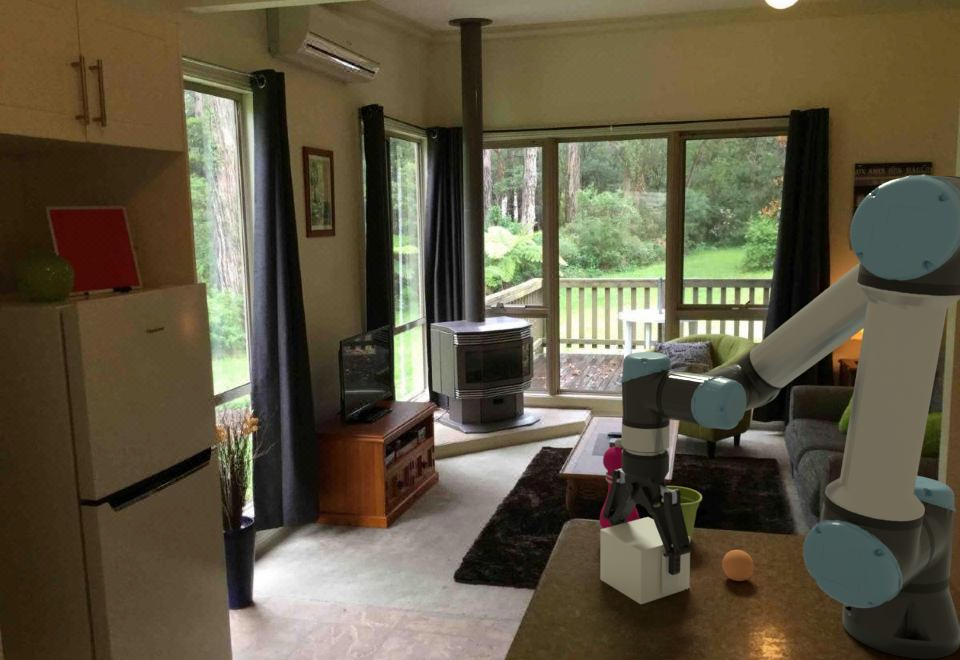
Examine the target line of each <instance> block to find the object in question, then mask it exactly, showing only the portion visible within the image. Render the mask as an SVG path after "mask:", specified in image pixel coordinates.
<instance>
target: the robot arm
mask: <svg viewBox="0 0 960 660" xmlns="http://www.w3.org/2000/svg"><path fill="white" fill-rule="evenodd" d="M849 229H850V231H849V238H850V245H851V248H852V251H853V253H854V255H855V256H856V258H857V260H858V261H859V263H857V264H856V265H855V266H854V267H852V268H851V269H849V271H847V272H846V273H845V274H844V275H842V276H841V277H840V278H839V279H837V280H836V281H834V283H832V284H831V285H829V287H828V288H826V289H824V291H823V292H821V293H820V294H819V295H818V296H816V297H815V298H813V300H812V301H810V302H809V303H808V304H806V305H805V306H804V307H803V308H801V309H800V310H799V311H798V312H796V313H795V314H794V315H793V316H792V317H790V318H789V319H788V320H786V321H785V322H784V323H783V324H781V325H780V326H779V327H778V328H777V329H775V330H773V332H771V334H769V335H768V336H766V337H765V338H764V339H763V340H761V342H759V343H758V344H757V345H755V346H754V347H753V348H752V349H750V350H749V352H746V354H744V355H742V357H740V358H739V359H738V360H737V361H735V362H734V363H733V364H731V365H727V366H723V367H720V368H717V369H714V370H710V371H707V372H703V373H694V372H688V371H687V372H685V371H679V370H675V369H672V364H671V363H672V361H671V357H670V356H669V355H667V354H664V353H661V352H654V351H653V352H652V351H642V352H641V351H639V352H638V351H637V352H633V353H629V354H628V355H627V354H626V356H625V357H624V358H623V362H622V376H621V377H622V378H621V380H620V382H621V397H622V399H621V400H622V403H621V404H622V417H621V418H622V422H621V439H622V442H621V445H622V446H623V447H624V449H623V450H622V468H621V469H617V470H613V472H612V485H611V488H610V492H609V495H608V494H607V495H608V498H607V497H606V498H607V502H606V505H605V509H604V512H603V517H604V519H608V520H609V521H610V525H611V526H615V525H619V524H623V523H627V522H628V521H627V518H628V517H629V515H630V513H631V512H632V510H633V509H634V507H636V505H641V506H642V507H643V508H645V509H646V510H647V513H648V514H649V515H651V517H652V519H653V520H654V522H655V525H656V528H657V530H658V533H659V535H660V538H661V540H662V543H663V545H664V548H665V551H666V552H665V553H662V593H664V594H667V593H670V592H673V591H676V590H678V573H680V561H681V555H683V554H687V553H690V554H691V552H692V546H691V542H689V537H688V533H687V529H686V525H685V521H684V516H683V512H682V508H681V493H680V490H679V489H674V490H671V489H668V488H667V487H666V486H667V485H666V481H665V479H666V477H667V476H668V474H669V472H670V452H669V450H668V449H669V448H670V423H671V420H675V421H679V422H684V423H688V424H692V425H697V426H702V427H704V428H707V429H711V430H713V429H719V430H731V429H734V428H735V427H737V426H738V424H739V422H740V421H742V420H743V418H744V415H745V412H746V411H749V410H752V409H757V408H761V407H763V406H765V405H767V404H768V403H770V402H772V401H774V399H776V398H777V396H778V395H779V393H780V391H781V390H782V389H783V388H784V387H786V386H787V385H788V384H789V383H791V382H792V381H794V379H796V378H797V377H799V376H801V375H802V374H803V373H805V372H806V371H807V370H808V369H810V368H811V367H813V366H814V365H816V364H818V362H819V361H821V360H822V359H824V358H825V357H826V356H828V355H829V354H830V353H832V352H833V351H835V350H836V349H837V348H839V347H840V346H842V345H843V344H844V343H846V342H847V341H848V340H850V339H851V338H853V337H854V336H856V335H857V334H858V333H860V332H861V331H862V330H863V331H862V337H861V344H860V351H859V354H858V355H859V356H858V363H857V369H856V374H855V376H856V377H855V381H854V382H855V383H854V388H853V395H852V400H851V407H850V412H849V420H848V426H847V433H846V439H845V444H844V445H845V446H844V452H843V458H842V464H841V471H840V476H839V477H838V478H837V479H835V480H833V481H831V482H830V483H828V484H827V485H826V487H825V491H824V497H823V502H822V508H821V514H820V520H819V522H818V523H816V524H814V525H813V526H812V527H811V528H810V530H809V532H808V533H807V534H806V537H805V539H804V540H803V546H802V555H803V561H804V565H805V568H806V570H807V571H808V574H809V575H810V577H812V579H813V580H814V581H815V582H816V585H817V587H819V588H820V590H821V591H822V592H824V593H825V594H826V595H828V596H829V597H830V598H831V599H833V600H835V601H837V602H838V603H841V604H843V606H842V615H841V616H842V618H841V621H842V626H843V628H844V630H845V631H846V632H847V633H848V634H849V635H850V636H851V637H852V638H854V639H855V640H857V642H860V643H862V644H863V645H866V646H868V647H869V648H872V649H874V650H877V651H880V652H883V653H886V654H889V655H893V656H896V657H897V656H898V657H902V658H909V659H920V660H932V659H940V658H941V659H942V658H946V657H947V656H951V655H953V654H954V653H955V652H956V651H958V650H959V648H960V622H959V619H958V616H957V611H956V608H955V604H954V601H953V598H952V596H951V591H950V575H951V565H952V564H951V562H952V549H953V536H954V523H955V522H954V519H955V513H956V511H957V508H956V507H955V506H956V505H955V493H954V491H953V488H951V487H950V486H948V485H947V484H945V483H944V482H941V481H938V480H936V479H933V478H928V477H924V476H920V475H918V472H919V467H920V462H921V455H922V451H923V450H922V449H923V444H924V438H925V434H926V427H927V423H928V422H927V421H928V415H929V411H930V410H929V409H930V405H931V400H932V395H933V394H932V393H933V390H934V389H933V387H934V383H935V379H936V378H935V377H936V372H937V366H938V360H939V354H940V350H941V349H940V348H941V344H942V343H941V342H942V338H943V332H944V327H945V321H946V315H947V309H948V308H949V307H950V306H952V305H953V304H955V303H957V302H958V301H960V176H957V175H955V176H954V175H952V176H951V175H944V176H939V175H936V176H934V175H927V174H919V175H916V174H915V175H913V174H912V175H908V176H903V177H900V178H895V179H892V180H889V181H887V182H884V183H882V184H881V185H879V186H877V187H876V188H875V189H874V190H872V191H871V192H870V193H868V194H867V195H866V196H865V197H864V198H863V199H862V201H861V202H860V203H859V205H858V207H857V208H856V210H855V212H854V214H853V217H852V219H851V223H850V228H849ZM626 488H627V489H626ZM659 503H660V506H658V507H655V506H656V505H658V504H659ZM612 509H613V510H612ZM611 510H612V511H611ZM626 521H627V522H626ZM672 544H673V547H672V546H671V545H672Z"/></svg>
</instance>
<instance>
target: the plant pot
mask: <svg viewBox="0 0 960 660" xmlns="http://www.w3.org/2000/svg"><path fill="white" fill-rule="evenodd" d="M666 487H667V488H668V489H671V490H674V489H679V490H680V493H681V508H682V512H683V516H684V521H685V525H686V529H687V533H688V536H689V537H690V543H691V541H692V540H693V533H694V527H695V522H696V517H697V512H698V511H697V510H698V508H699V507H700V503H701V502H702V501H703V495H702V493H700V492H699V491H697V490H695V489H692V488H689V487H684V486H676V485H666ZM658 506H660V503H659V504H658V505H656V506H654V507H658Z"/></svg>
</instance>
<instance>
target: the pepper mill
mask: <svg viewBox="0 0 960 660" xmlns="http://www.w3.org/2000/svg"><path fill="white" fill-rule="evenodd" d="M621 442H622V438H617V439H616V440H614V446H612V447H611V446H610V447H609V448H608V449H607V450H606V451H605V452H604V454H603V457H602V464H603V466H604V468H605V469H606V470H607V471H606V472H605V476H606V477H605V481H607V485H608V490H607V494H606V495H607V496H606V498H605V501H604V503H603V506H602V508H601V511H600V515H599V524H600V526H601V529H604V528H608V527H612V526H611V525H610V521H609V520H608V519H604V517H603V512H604V509H605V505H606V502H607V498H608V495H609V492H610V488H611V485H612V472H613V470H617V469H621V468H622V450H623V449H624V447H623V446H622V445H621ZM626 489H627V488H626ZM612 510H613V509H612ZM612 510H611V511H612ZM639 515H640V514H639V511H638V509H637V507H636V506H635V507H634V509H633V510H632V512H631V513H630V515H629V517H628V518H627V521H628V522H630V521H634V520H638V519H640V516H639ZM627 521H626V522H627Z"/></svg>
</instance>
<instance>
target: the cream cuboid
mask: <svg viewBox="0 0 960 660" xmlns="http://www.w3.org/2000/svg"><path fill="white" fill-rule="evenodd" d="M599 531H600V533H599V534H600V536H599V537H600V539H599V540H600V541H599V542H600V545H599V546H600V548H599V549H600V551H599V552H600V559H599V560H600V563H599V565H600V568H599V569H600V579H599V580H601V582H603V583H605V584H607V585H608V586H610V587H612V588H613V589H615V590H617V591H619V592H620V593H621V594H623V595H625V596H627V597H628V598H630V599H631V600H633V601H634V602H635V603H638V604H640V605H643V604H647V603H650V602H652V601H656V600H658V599H662V598H665V597H668V596H671V595H673V594H676V593H679V592H683V591H686V590H689V589H690V581H691V580H690V575H691V574H690V572H691V568H690V567H691V552H690V553H687V554H683V555H681V561H680V573H678V590H676V591H673V592H670V593H667V594H664V593H662V553H665V552H666V551H665V548H664V545H663V543H662V540H661V538H660V535H659V533H658V530H657V528H656V525H655V522H654V520H653V518H651V517H649V516H647V517H643V518H639V519H638V520H634V521H630V522H627V523H623V524H619V525H615V526H612V527H608V528H604V529H603V528H601V529H600V530H599ZM688 537H689V536H688ZM689 542H690V537H689ZM690 543H691V542H690ZM671 546H672V547H673V544H672V545H671ZM688 588H689V589H688ZM685 589H686V590H685Z"/></svg>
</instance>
